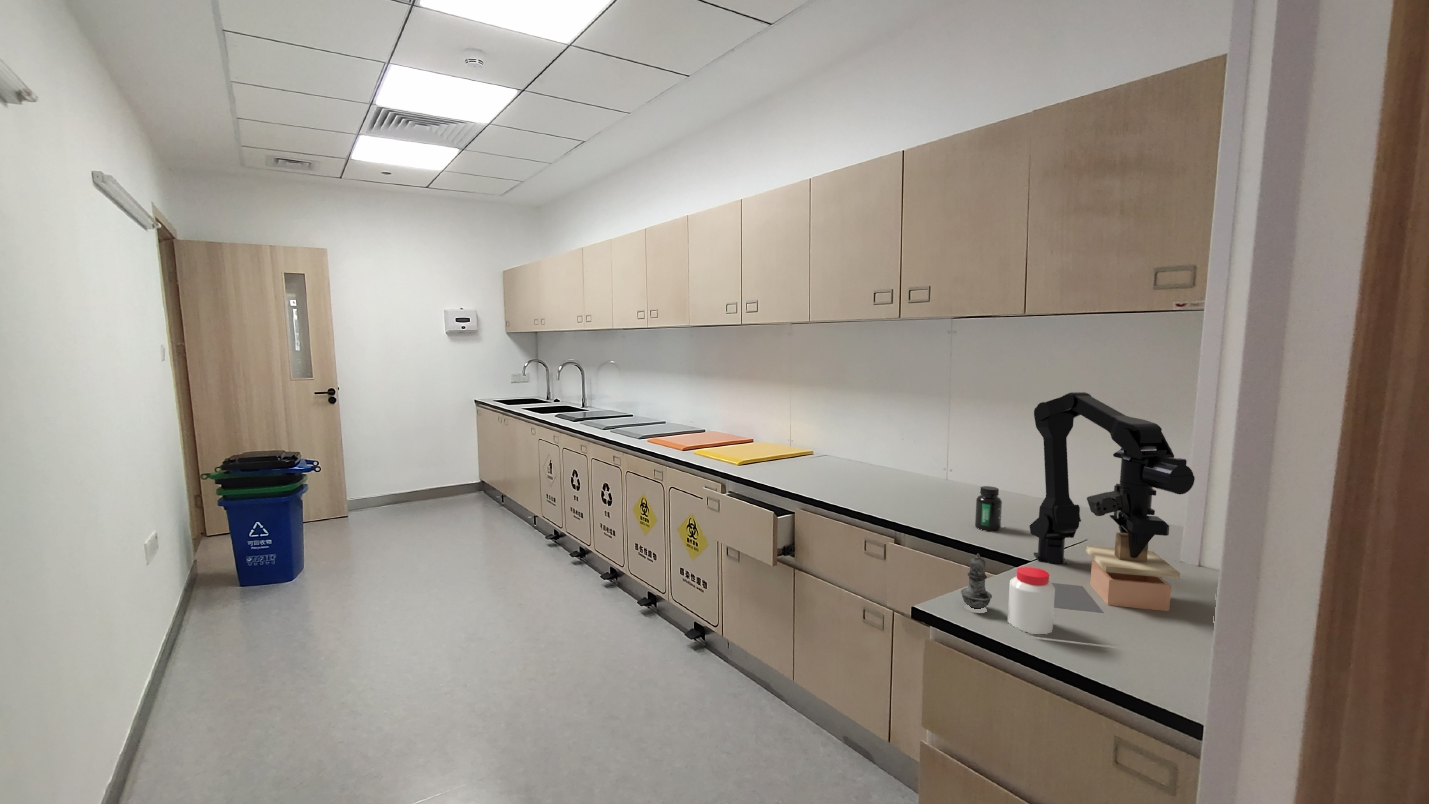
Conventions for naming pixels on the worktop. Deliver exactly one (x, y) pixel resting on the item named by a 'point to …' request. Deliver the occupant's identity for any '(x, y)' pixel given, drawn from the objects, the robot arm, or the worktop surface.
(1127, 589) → the pink open tray
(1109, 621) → the worktop surface
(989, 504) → the supplement bottle
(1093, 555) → the lid
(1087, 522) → the worktop surface
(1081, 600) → the mat
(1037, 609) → the pill bottle
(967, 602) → the grey figurine
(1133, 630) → the worktop surface
